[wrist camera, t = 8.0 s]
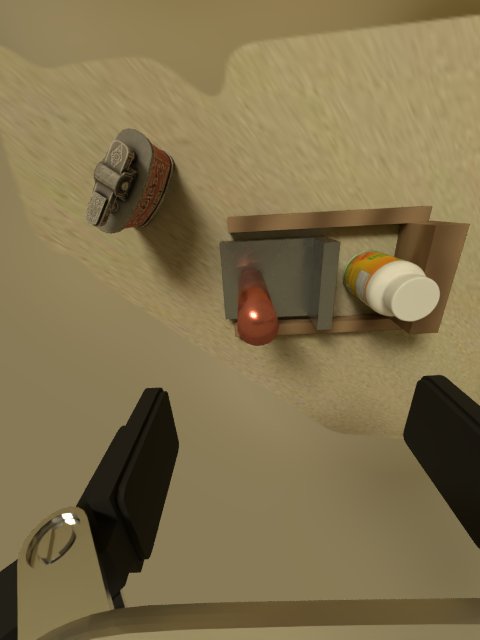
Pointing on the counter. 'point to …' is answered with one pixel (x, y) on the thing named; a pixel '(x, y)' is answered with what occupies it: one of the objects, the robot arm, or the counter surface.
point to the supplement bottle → (391, 285)
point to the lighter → (129, 183)
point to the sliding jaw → (278, 283)
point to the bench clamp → (412, 245)
